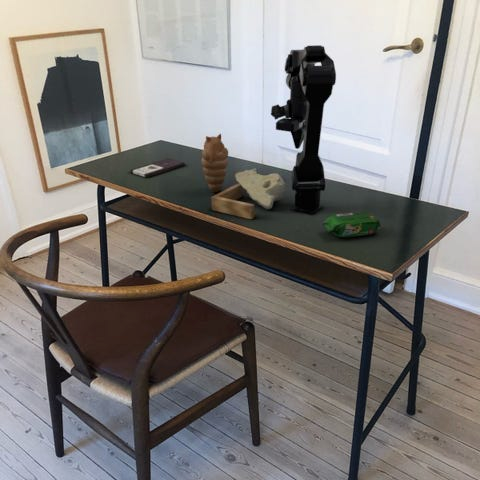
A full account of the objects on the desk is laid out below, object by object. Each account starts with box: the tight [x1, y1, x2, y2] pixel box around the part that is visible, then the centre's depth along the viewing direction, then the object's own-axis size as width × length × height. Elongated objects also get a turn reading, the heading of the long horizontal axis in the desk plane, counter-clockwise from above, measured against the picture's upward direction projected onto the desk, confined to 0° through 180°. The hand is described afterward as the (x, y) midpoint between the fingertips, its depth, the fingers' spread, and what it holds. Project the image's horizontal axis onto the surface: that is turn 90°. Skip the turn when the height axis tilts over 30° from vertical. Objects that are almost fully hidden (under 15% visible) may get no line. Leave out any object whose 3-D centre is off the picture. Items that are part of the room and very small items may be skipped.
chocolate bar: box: [129, 157, 186, 178], centre depth 190 cm, size 9×1×18 cm
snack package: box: [322, 211, 381, 238], centre depth 139 cm, size 7×16×5 cm, turn 103°
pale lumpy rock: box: [234, 168, 286, 210], centre depth 160 cm, size 15×7×15 cm
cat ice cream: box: [200, 133, 229, 193], centre depth 165 cm, size 9×8×18 cm
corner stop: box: [210, 182, 255, 220], centre depth 157 cm, size 14×14×4 cm
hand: (297, 148), depth 167 cm, fingers closed
